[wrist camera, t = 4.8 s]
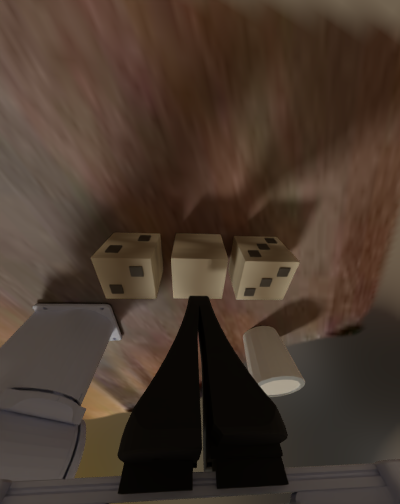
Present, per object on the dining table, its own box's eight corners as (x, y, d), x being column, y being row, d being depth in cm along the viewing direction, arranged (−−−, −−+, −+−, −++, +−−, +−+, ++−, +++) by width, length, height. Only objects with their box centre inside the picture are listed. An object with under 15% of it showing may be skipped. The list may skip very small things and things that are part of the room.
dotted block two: (123, 267, 19) (105, 299, 15) (114, 230, 16) (89, 257, 12) (163, 268, 19) (156, 299, 15) (160, 232, 16) (150, 258, 12)
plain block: (177, 267, 19) (173, 298, 15) (176, 232, 16) (170, 258, 13) (216, 268, 19) (221, 298, 15) (220, 233, 17) (228, 259, 13)
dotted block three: (227, 269, 19) (236, 300, 15) (234, 234, 17) (246, 260, 13) (265, 270, 19) (283, 300, 16) (276, 235, 17) (301, 261, 13)
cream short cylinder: (251, 319, 25) (270, 374, 19) (289, 327, 26) (317, 380, 20) (231, 343, 28) (242, 395, 22) (266, 349, 29) (284, 399, 23)
